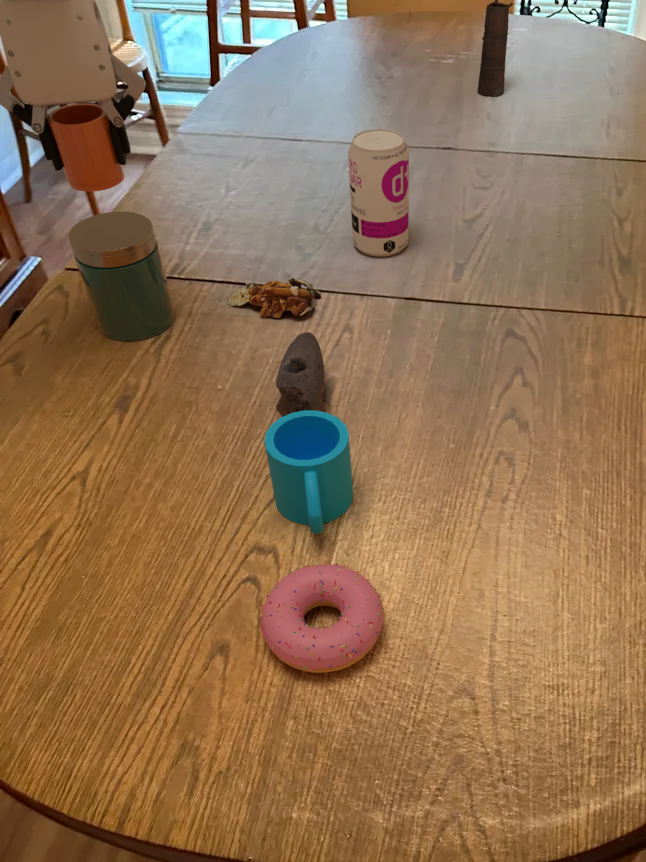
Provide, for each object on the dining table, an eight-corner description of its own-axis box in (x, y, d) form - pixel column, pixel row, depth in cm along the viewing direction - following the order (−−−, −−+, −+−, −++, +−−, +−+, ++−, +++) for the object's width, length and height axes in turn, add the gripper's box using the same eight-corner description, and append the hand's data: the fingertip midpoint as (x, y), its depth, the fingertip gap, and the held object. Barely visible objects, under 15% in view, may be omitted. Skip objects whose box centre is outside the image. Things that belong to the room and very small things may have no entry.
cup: (66, 194, 87) (44, 128, 82) (71, 170, 91) (50, 105, 86) (123, 189, 88) (105, 123, 83) (125, 165, 92) (108, 101, 87)
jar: (95, 345, 100) (66, 261, 91) (100, 303, 106) (73, 220, 98) (175, 336, 101) (154, 252, 92) (175, 295, 108) (155, 212, 99)
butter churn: (525, 87, 158) (544, -89, 137) (510, 103, 152) (527, -77, 131) (482, 80, 160) (494, -93, 139) (465, 96, 155) (475, -82, 134)
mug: (273, 473, 84) (263, 414, 78) (349, 465, 85) (344, 406, 79) (277, 558, 77) (266, 499, 70) (361, 548, 77) (357, 490, 71)
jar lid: (71, 271, 92) (65, 255, 91) (77, 231, 99) (72, 215, 97) (156, 263, 93) (151, 246, 92) (157, 224, 100) (153, 208, 98)
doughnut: (238, 646, 70) (230, 618, 67) (311, 564, 76) (307, 536, 73) (339, 703, 66) (335, 676, 63) (407, 612, 72) (407, 584, 69)
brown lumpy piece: (237, 287, 109) (233, 263, 106) (322, 294, 108) (320, 269, 105) (222, 315, 104) (217, 291, 102) (311, 322, 103) (308, 298, 100)
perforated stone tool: (291, 360, 98) (285, 312, 92) (334, 361, 98) (329, 312, 92) (274, 441, 88) (265, 391, 83) (321, 442, 88) (315, 393, 82)
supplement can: (419, 244, 117) (421, 138, 105) (380, 264, 113) (378, 158, 101) (380, 225, 120) (378, 122, 109) (341, 245, 116) (335, 139, 105)
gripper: (128, -45, 78) (169, 142, 92) (-54, -35, 76) (16, 155, 90) (125, -24, 74) (169, 170, 87) (-69, -12, 71) (7, 184, 85)
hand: (91, 161), depth 88 cm, fingers closed on cup, 6 cm apart
